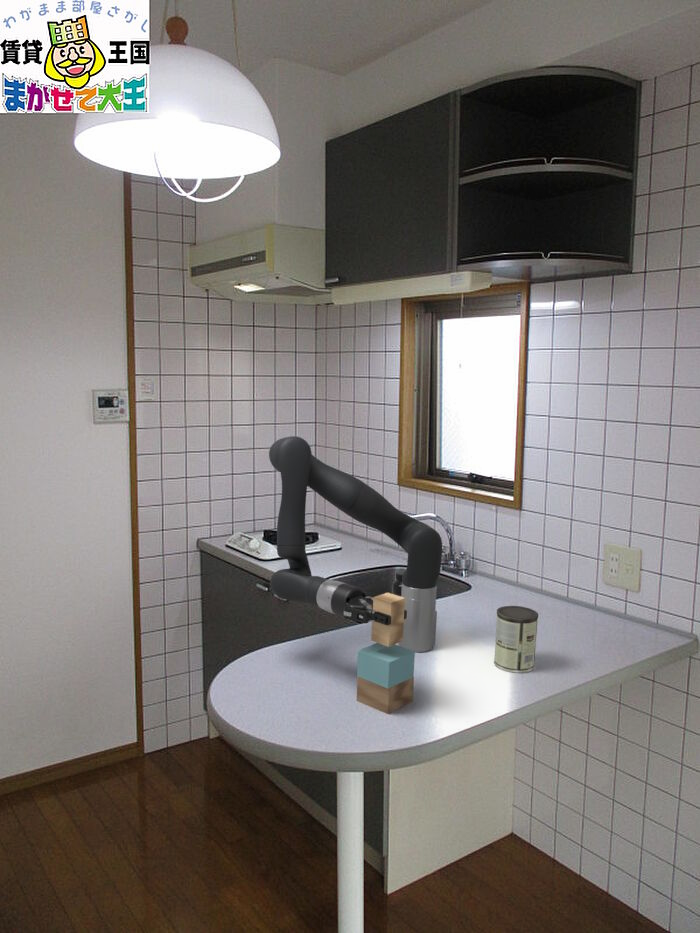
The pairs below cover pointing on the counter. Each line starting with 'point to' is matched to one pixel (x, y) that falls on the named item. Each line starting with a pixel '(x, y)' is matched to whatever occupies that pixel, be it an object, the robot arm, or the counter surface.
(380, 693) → the walnut base block
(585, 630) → the counter surface
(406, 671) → the teal top block
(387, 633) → the oak block
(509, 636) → the coffee can
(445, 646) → the counter surface
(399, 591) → the supplement bottle
